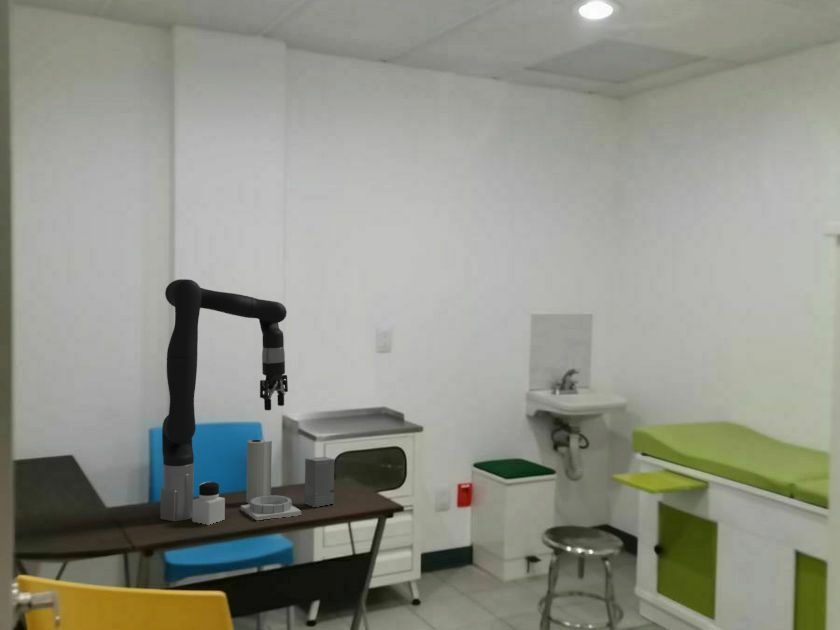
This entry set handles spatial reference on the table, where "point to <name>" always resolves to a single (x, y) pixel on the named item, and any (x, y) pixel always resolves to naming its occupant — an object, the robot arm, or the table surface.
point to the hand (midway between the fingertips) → (274, 407)
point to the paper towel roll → (258, 469)
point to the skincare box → (319, 481)
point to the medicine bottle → (208, 504)
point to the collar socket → (270, 507)
